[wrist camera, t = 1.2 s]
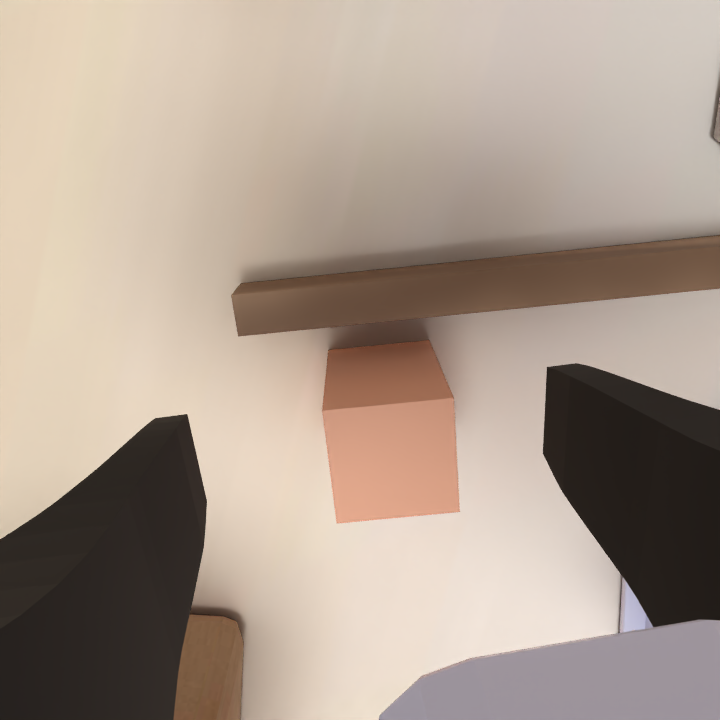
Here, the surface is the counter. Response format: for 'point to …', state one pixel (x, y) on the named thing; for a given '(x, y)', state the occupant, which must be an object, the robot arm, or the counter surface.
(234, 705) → the wooden block
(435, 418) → the block
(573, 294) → the strip
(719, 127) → the flask
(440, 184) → the counter surface
